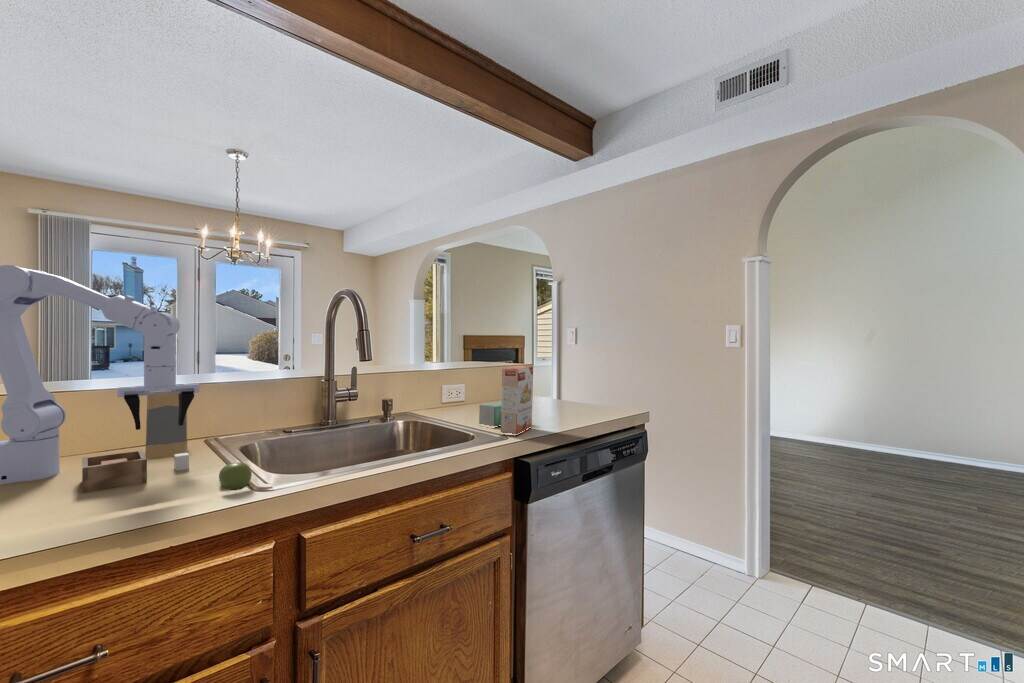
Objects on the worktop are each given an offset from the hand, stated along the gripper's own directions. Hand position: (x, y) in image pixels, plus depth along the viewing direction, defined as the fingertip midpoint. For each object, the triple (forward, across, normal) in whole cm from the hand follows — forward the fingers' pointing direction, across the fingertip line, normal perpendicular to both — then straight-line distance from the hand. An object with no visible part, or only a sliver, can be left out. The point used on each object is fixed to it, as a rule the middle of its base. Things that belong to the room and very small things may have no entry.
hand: (159, 426), depth 105 cm
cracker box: (+9, +90, -21) cm, 93 cm away
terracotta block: (+9, -8, -6) cm, 14 cm away
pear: (+10, +10, -22) cm, 26 cm away
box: (+10, +94, -8) cm, 95 cm away
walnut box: (+10, -8, -6) cm, 14 cm away
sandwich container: (+10, +3, +15) cm, 19 cm away
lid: (+10, +4, -4) cm, 12 cm away
